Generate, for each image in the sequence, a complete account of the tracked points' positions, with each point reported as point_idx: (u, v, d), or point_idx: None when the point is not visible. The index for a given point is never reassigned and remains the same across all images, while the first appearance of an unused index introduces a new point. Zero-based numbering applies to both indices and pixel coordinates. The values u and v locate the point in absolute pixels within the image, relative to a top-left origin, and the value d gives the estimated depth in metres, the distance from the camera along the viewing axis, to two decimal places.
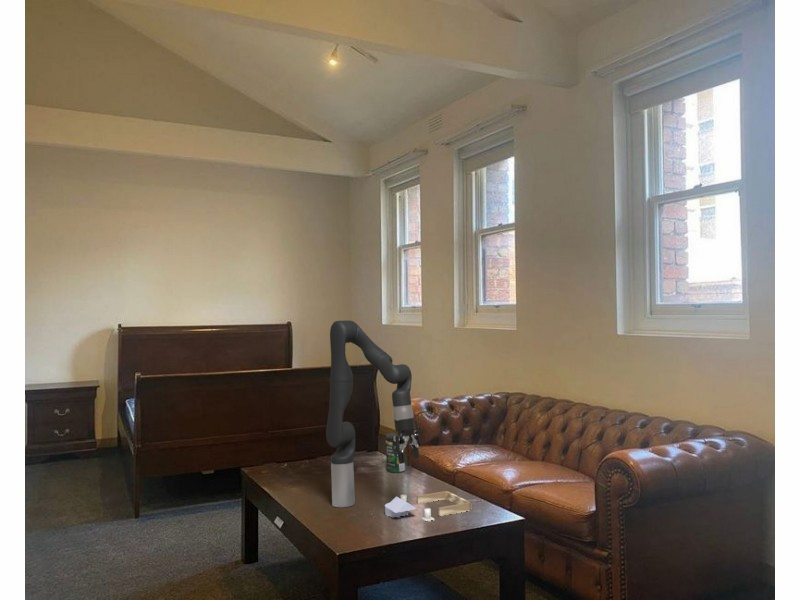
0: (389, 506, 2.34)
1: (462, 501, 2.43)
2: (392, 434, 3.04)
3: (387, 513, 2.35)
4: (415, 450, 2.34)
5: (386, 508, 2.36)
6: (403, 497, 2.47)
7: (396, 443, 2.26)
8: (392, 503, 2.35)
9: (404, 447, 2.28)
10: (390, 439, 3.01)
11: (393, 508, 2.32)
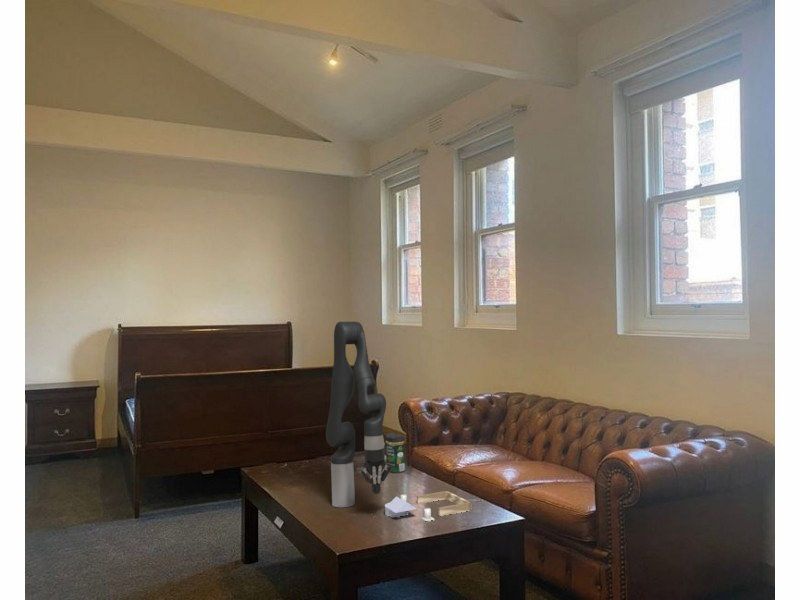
0: (389, 506, 2.34)
1: (462, 501, 2.43)
2: (392, 434, 3.04)
3: (387, 513, 2.35)
4: None
5: (386, 508, 2.36)
6: (403, 497, 2.47)
7: (364, 477, 2.30)
8: (392, 503, 2.35)
9: (375, 477, 2.31)
10: (390, 439, 3.01)
11: (393, 508, 2.32)
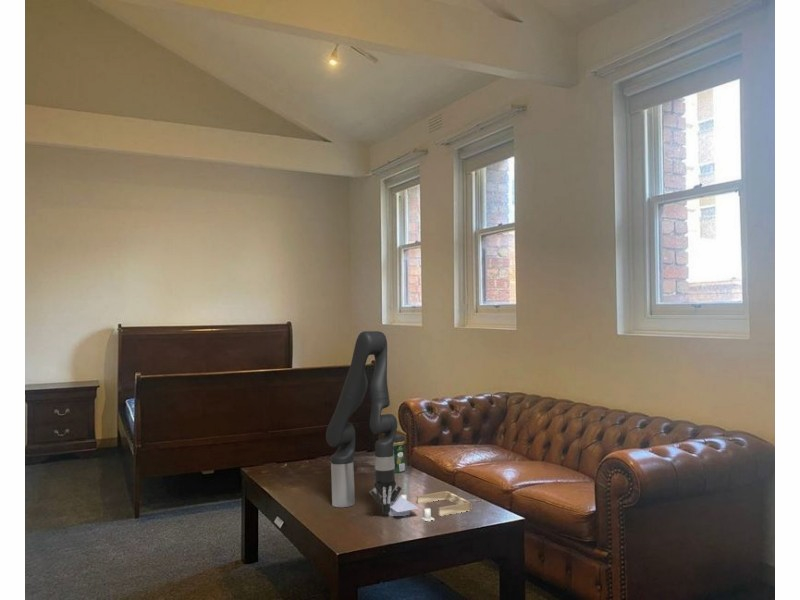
0: (391, 506, 2.35)
1: (462, 501, 2.43)
2: None
3: (389, 512, 2.36)
4: None
5: None
6: (403, 497, 2.47)
7: (374, 497, 2.31)
8: (394, 502, 2.36)
9: (385, 498, 2.33)
10: None
11: (395, 507, 2.32)
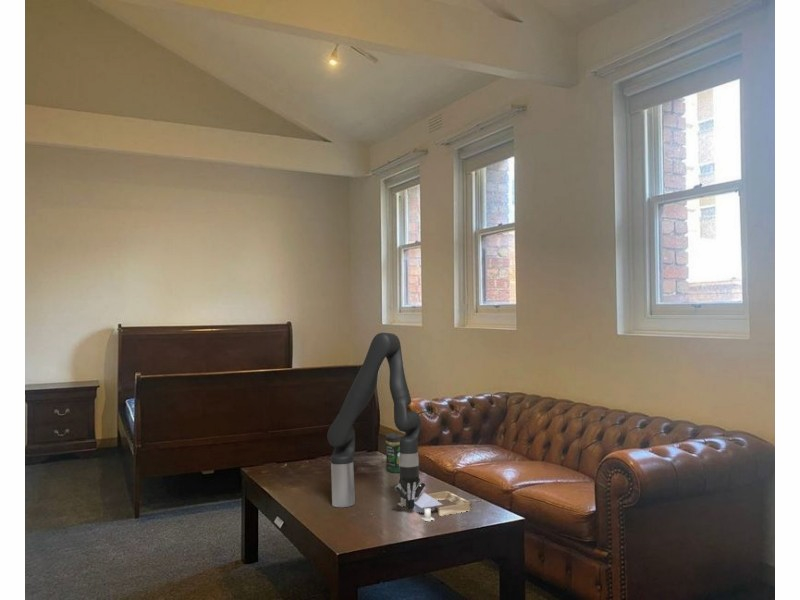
0: (416, 502, 2.39)
1: (462, 501, 2.43)
2: (392, 434, 3.04)
3: (414, 508, 2.40)
4: None
5: None
6: None
7: (399, 493, 2.36)
8: (419, 498, 2.40)
9: (409, 494, 2.37)
10: (390, 439, 3.01)
11: (419, 503, 2.37)
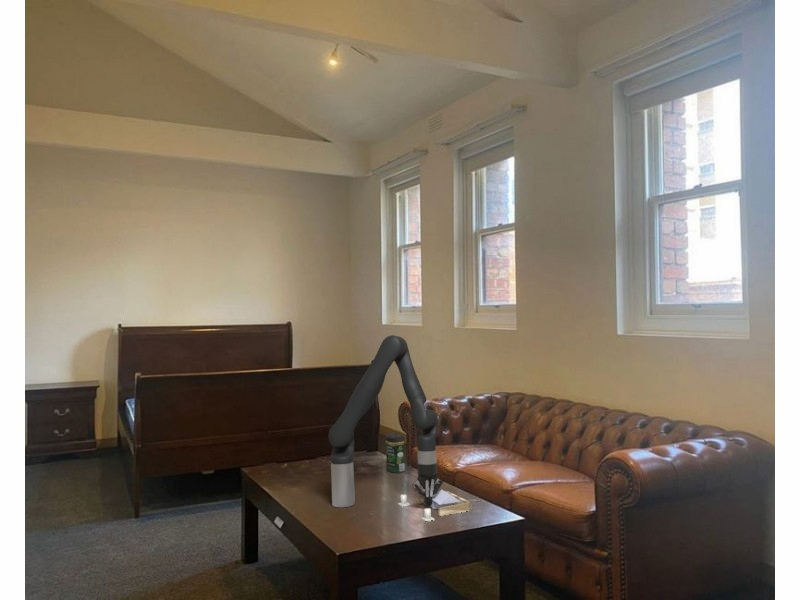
0: (434, 498, 2.43)
1: (462, 501, 2.43)
2: (392, 434, 3.04)
3: (432, 505, 2.43)
4: None
5: None
6: (403, 497, 2.47)
7: (418, 490, 2.39)
8: (437, 495, 2.43)
9: (428, 491, 2.40)
10: (390, 439, 3.01)
11: (437, 500, 2.40)
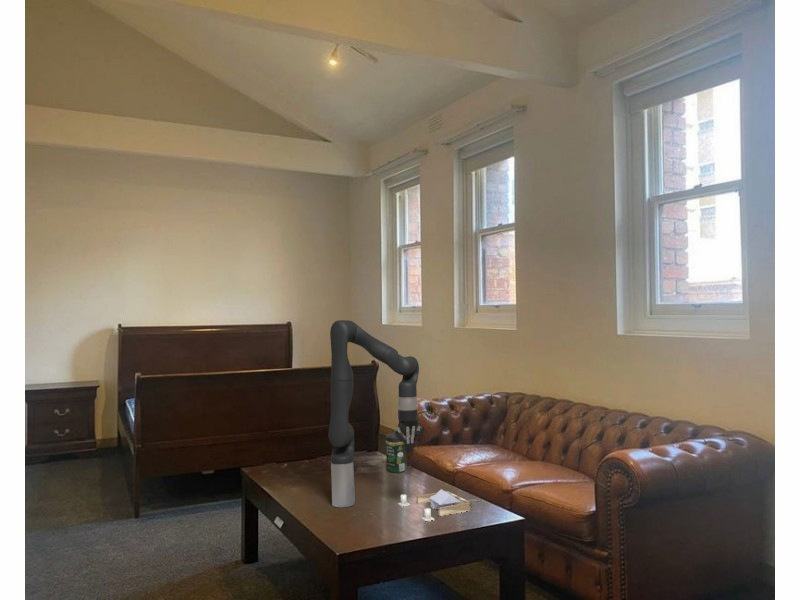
0: (434, 498, 2.43)
1: (462, 501, 2.43)
2: (392, 434, 3.04)
3: (432, 505, 2.44)
4: None
5: (431, 500, 2.44)
6: (403, 497, 2.47)
7: (398, 437, 2.36)
8: (437, 495, 2.43)
9: (408, 437, 2.38)
10: (390, 439, 3.01)
11: (438, 500, 2.40)
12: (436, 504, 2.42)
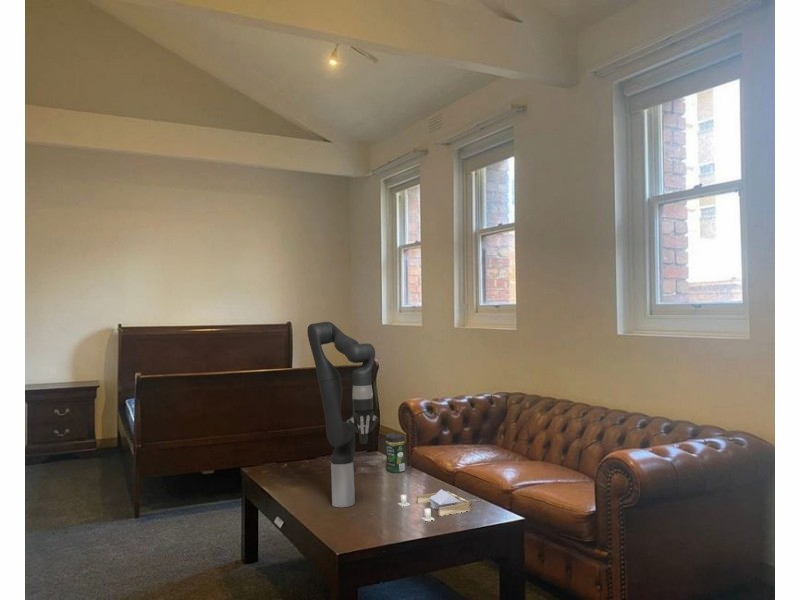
0: (434, 498, 2.43)
1: (462, 501, 2.43)
2: (392, 434, 3.04)
3: (432, 505, 2.44)
4: None
5: (431, 500, 2.44)
6: (403, 497, 2.47)
7: (352, 427, 2.28)
8: (437, 495, 2.43)
9: (363, 427, 2.29)
10: (390, 439, 3.01)
11: (438, 500, 2.40)
12: (436, 504, 2.42)
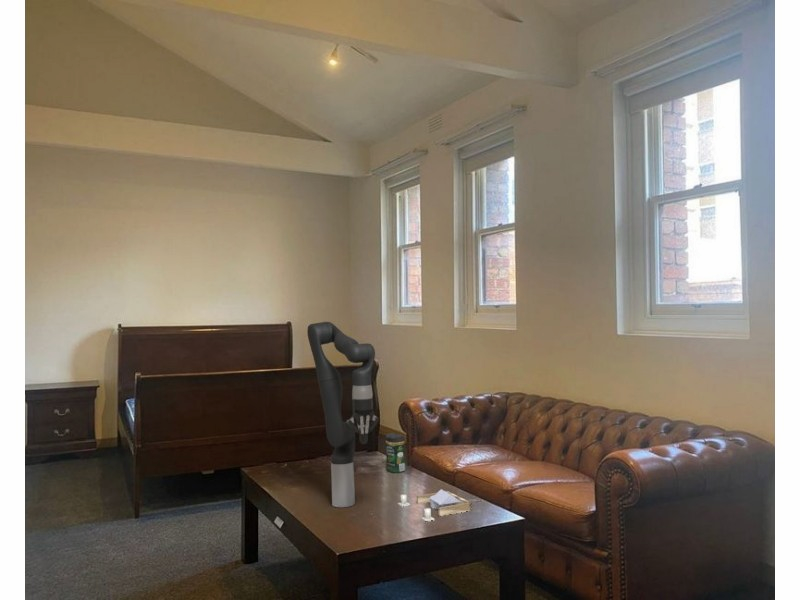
0: (434, 498, 2.43)
1: (462, 501, 2.43)
2: (392, 434, 3.04)
3: (432, 505, 2.44)
4: None
5: (431, 500, 2.44)
6: (403, 497, 2.47)
7: (352, 427, 2.28)
8: (437, 495, 2.43)
9: (363, 427, 2.29)
10: (390, 439, 3.01)
11: (438, 500, 2.40)
12: (436, 504, 2.42)
